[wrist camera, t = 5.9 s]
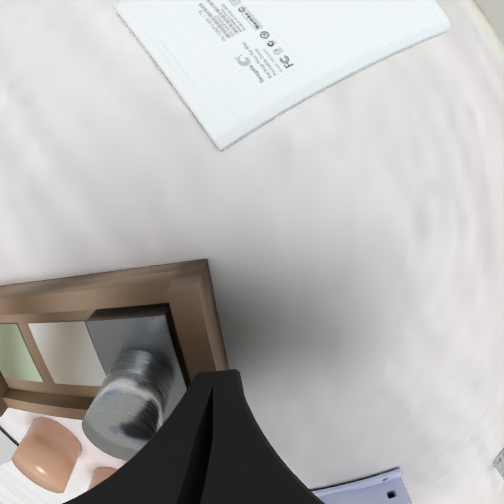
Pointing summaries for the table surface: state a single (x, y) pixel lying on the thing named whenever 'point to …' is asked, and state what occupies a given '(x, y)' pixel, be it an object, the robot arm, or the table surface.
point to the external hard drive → (270, 50)
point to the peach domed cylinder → (47, 454)
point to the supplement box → (500, 463)
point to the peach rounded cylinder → (101, 475)
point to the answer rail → (79, 339)
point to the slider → (134, 376)
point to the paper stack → (6, 448)
